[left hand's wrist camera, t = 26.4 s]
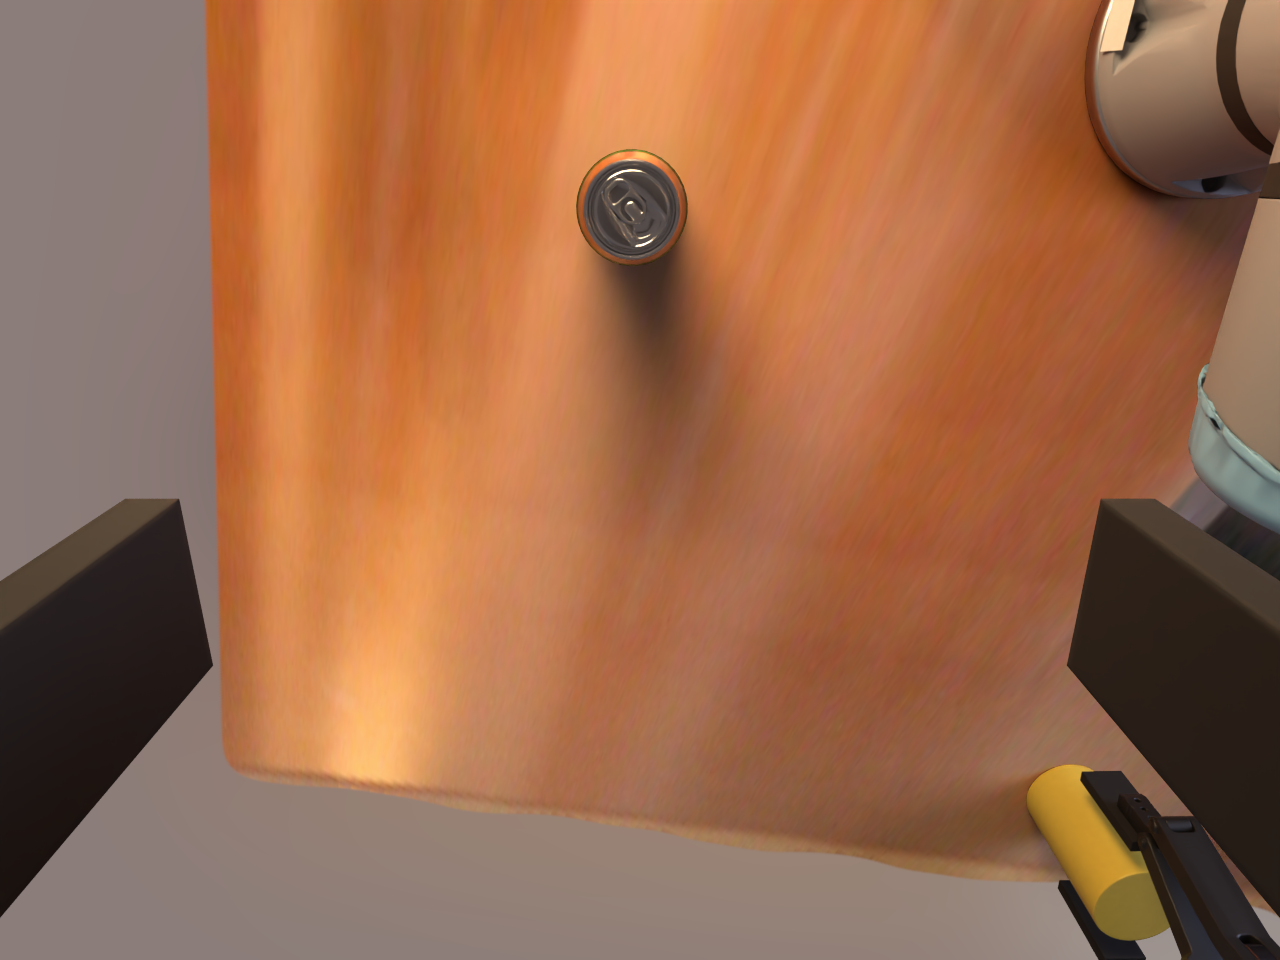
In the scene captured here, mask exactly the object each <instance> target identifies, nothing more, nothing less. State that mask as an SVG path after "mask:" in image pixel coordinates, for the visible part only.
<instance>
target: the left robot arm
mask: <svg viewBox="0 0 1280 960" xmlns="http://www.w3.org/2000/svg"><path fill="white" fill-rule="evenodd" d="M1085 93H1086V100H1087V107H1088V111H1089V115H1090V119H1091V122H1092V125H1093V128H1094V130H1095V133H1096V135H1097V137H1098V139H1099V141H1100V143H1101V145H1102V146H1103V148H1104V149H1105V151H1106V153H1107V154H1108V155H1109V157H1110V158H1111V159H1112V160H1113V162H1114V163H1115V164H1116V165H1117V166H1118V167H1119V168H1120V169H1121V170H1122V171H1123V172H1124V173H1125V174H1127V175H1128V176H1129V177H1131V178H1132V179H1133V180H1135V181H1137V182H1138V183H1140V184H1142V185H1143V186H1145V187H1148V188H1150V189H1152V190H1155V191H1157V192H1160V193H1164V194H1167V195H1172V196H1177V197H1187V198H1201V199H1219V198H1228V197H1235V196H1240V195H1245V194H1250V193H1254V192H1258V191H1261V193H1260V196H1259V197H1260V198H1258V202H1257V205H1256V209H1255V212H1254V215H1253V219H1252V222H1251V225H1250V229H1249V232H1248V235H1247V239H1246V242H1245V245H1244V249H1243V252H1242V255H1241V259H1240V262H1239V265H1238V269H1237V272H1236V275H1235V279H1234V282H1233V285H1232V289H1231V292H1230V296H1229V299H1228V302H1227V306H1226V309H1225V312H1224V316H1223V319H1222V322H1221V326H1220V329H1219V332H1218V336H1217V339H1216V342H1215V346H1214V349H1213V352H1212V356H1211V359H1210V362H1209V363H1208V364H1206V365H1205V366H1204V367H1203V369H1202V371H1201V373H1200V375H1199V378H1198V383H1197V387H1198V398H1199V399H1198V403H1197V407H1196V411H1195V415H1194V419H1193V423H1192V427H1191V432H1190V436H1189V452H1190V455H1191V461H1192V463H1193V465H1194V469H1195V471H1196V473H1197V475H1198V476H1199V477H1200V479H1201V480H1202V481H1203V482H1204V484H1205V485H1206V486H1207V487H1208V488H1209V489H1210V490H1211V491H1212V492H1213V493H1214V494H1215V495H1216V496H1218V497H1219V498H1220V499H1221V500H1222V501H1224V502H1225V503H1226V504H1228V505H1229V506H1230V507H1232V508H1233V509H1235V510H1236V511H1238V512H1240V513H1241V514H1243V515H1244V516H1246V517H1248V518H1249V519H1251V520H1253V521H1255V522H1257V523H1258V524H1260V525H1262V526H1264V527H1266V528H1268V529H1270V530H1272V531H1274V532H1276V533H1278V534H1280V200H1278V199H1280V0H1102V2H1101V5H1100V7H1099V10H1098V12H1097V15H1096V17H1095V20H1094V24H1093V27H1092V30H1091V34H1090V38H1089V43H1088V47H1087V54H1086V62H1085ZM212 666H213V663H212V659H211V653H210V648H209V643H208V638H207V634H206V629H205V624H204V619H203V614H202V609H201V604H200V599H199V595H198V590H197V585H196V580H195V575H194V570H193V565H192V560H191V555H190V550H189V545H188V540H187V536H186V530H185V525H184V521H183V516H182V511H181V506H180V501H179V499H124V500H123V501H121V502H120V503H118V504H117V505H115V506H114V507H112V508H111V509H109V510H108V511H106V512H105V513H103V514H102V515H100V516H99V517H97V518H96V519H94V520H92V521H91V522H89V523H88V524H86V525H85V526H83V527H82V528H80V529H79V530H77V531H76V532H74V533H73V534H71V535H70V536H68V537H67V538H65V539H64V540H62V541H61V542H59V543H58V544H56V545H55V546H53V547H52V548H50V549H48V550H47V551H45V552H44V553H42V554H41V555H39V556H38V557H36V558H35V559H33V560H32V561H30V562H29V563H27V564H26V565H24V566H23V567H21V568H20V569H18V570H17V571H15V572H14V573H12V574H11V575H9V576H8V577H6V578H5V579H3V580H1V581H0V917H1V916H2V915H3V914H4V912H5V911H6V910H7V909H8V908H9V907H10V905H11V904H12V903H13V902H14V901H15V899H16V898H17V897H18V896H19V895H20V894H21V892H22V891H23V890H24V889H25V888H26V886H27V885H28V884H29V883H30V882H31V880H32V879H33V878H34V877H35V876H36V875H37V873H38V872H39V871H40V870H41V869H42V867H43V866H44V865H45V864H46V863H47V861H48V860H49V859H50V858H51V857H52V856H53V854H54V853H55V852H56V851H57V850H58V849H59V847H60V846H61V845H62V844H63V843H64V841H65V840H66V839H67V838H68V837H69V835H70V834H71V833H72V832H73V831H74V829H75V828H76V827H77V826H78V825H79V824H80V822H81V821H82V820H83V819H84V818H85V817H86V815H87V814H88V813H89V812H90V811H91V809H92V808H93V807H94V806H95V805H96V803H97V802H98V801H99V800H100V799H101V798H102V796H103V795H104V794H105V793H106V792H107V790H108V789H109V788H110V787H111V786H112V785H113V783H114V782H115V781H116V780H117V779H118V777H119V776H120V775H121V774H122V773H123V771H124V770H125V769H126V768H127V767H128V766H129V764H130V763H131V762H132V761H133V760H134V758H135V757H136V756H137V755H138V754H139V753H140V751H141V750H142V749H143V748H144V747H145V745H146V744H147V743H148V742H149V741H150V740H151V738H152V737H153V736H154V735H155V734H156V732H157V731H158V730H159V729H160V728H161V726H162V725H163V724H164V723H165V722H166V721H167V719H168V718H169V717H170V716H171V715H172V713H173V712H174V711H175V710H176V709H177V708H178V706H179V705H180V704H181V703H182V701H183V700H184V699H185V698H186V697H187V696H188V694H189V693H190V692H191V691H192V690H193V688H194V687H195V686H196V685H197V684H198V683H199V681H200V680H201V679H202V678H203V677H204V676H205V674H206V673H207V672H208V671H209V670H210V668H211V667H212ZM1067 666H1068V667H1069V668H1070V670H1071V671H1072V672H1073V673H1074V674H1075V676H1076V677H1077V678H1078V679H1079V680H1080V681H1081V683H1082V684H1083V685H1084V686H1085V687H1086V689H1087V690H1088V691H1089V692H1090V693H1091V694H1092V696H1093V697H1094V698H1095V699H1096V700H1097V702H1098V703H1099V704H1100V705H1101V706H1102V708H1103V709H1104V710H1105V711H1106V712H1107V713H1108V715H1109V716H1110V717H1111V718H1112V719H1113V721H1114V722H1115V723H1116V724H1117V725H1118V726H1119V728H1120V729H1121V730H1122V731H1123V732H1124V734H1125V735H1126V736H1127V737H1128V738H1129V740H1130V741H1131V742H1132V743H1133V744H1134V745H1135V747H1136V748H1137V749H1138V750H1139V751H1140V753H1141V754H1142V755H1143V756H1144V757H1145V758H1146V760H1147V761H1148V762H1149V763H1150V764H1151V766H1152V767H1153V768H1154V769H1155V770H1156V771H1157V773H1158V774H1159V775H1160V776H1161V777H1162V779H1163V780H1164V781H1165V782H1166V783H1167V785H1168V786H1169V787H1170V788H1171V789H1172V790H1173V792H1174V793H1175V794H1176V795H1177V796H1178V798H1179V799H1180V800H1181V801H1182V802H1183V803H1184V805H1185V806H1186V807H1187V808H1188V809H1189V811H1190V812H1191V813H1192V814H1193V815H1194V817H1195V818H1196V819H1197V820H1198V821H1199V822H1200V824H1201V825H1202V826H1203V827H1204V828H1205V830H1206V831H1207V832H1208V833H1209V834H1210V835H1211V837H1212V838H1213V839H1214V840H1215V841H1216V843H1217V844H1218V845H1219V846H1220V847H1221V849H1222V850H1223V851H1224V852H1225V853H1226V854H1227V856H1228V857H1229V858H1230V859H1231V860H1232V862H1233V863H1234V864H1235V865H1236V866H1237V867H1238V869H1239V870H1240V871H1241V872H1242V873H1243V875H1244V876H1245V877H1246V878H1247V879H1248V880H1249V882H1250V883H1251V884H1252V885H1253V886H1254V888H1255V889H1256V890H1257V891H1258V892H1259V894H1260V895H1261V896H1262V897H1263V898H1264V899H1265V901H1266V902H1267V903H1268V904H1269V905H1270V907H1271V908H1272V909H1273V910H1274V911H1275V912H1276V914H1277V915H1278V916H1279V917H1280V581H1279V580H1277V579H1276V578H1274V577H1272V576H1271V575H1269V574H1268V573H1266V572H1265V571H1263V570H1262V569H1260V568H1259V567H1257V566H1256V565H1254V564H1253V563H1251V562H1250V561H1248V560H1247V559H1245V558H1244V557H1242V556H1241V555H1239V554H1238V553H1236V552H1235V551H1233V550H1232V549H1230V548H1228V547H1227V546H1225V545H1224V544H1222V543H1221V542H1219V541H1218V540H1216V539H1215V538H1213V537H1212V536H1210V535H1209V534H1207V533H1206V532H1204V531H1203V530H1201V529H1200V528H1198V527H1197V526H1195V525H1194V524H1192V523H1191V522H1189V521H1188V520H1186V519H1184V518H1183V517H1181V516H1180V515H1178V514H1177V513H1175V512H1174V511H1172V510H1171V509H1169V508H1168V507H1166V506H1165V505H1163V504H1162V503H1160V502H1159V501H1157V500H1156V499H1101V501H1100V506H1099V511H1098V516H1097V521H1096V525H1095V530H1094V535H1093V540H1092V545H1091V550H1090V555H1089V560H1088V565H1087V570H1086V575H1085V580H1084V584H1083V589H1082V594H1081V599H1080V604H1079V609H1078V614H1077V619H1076V624H1075V629H1074V634H1073V638H1072V643H1071V648H1070V653H1069V658H1068V663H1067Z"/></svg>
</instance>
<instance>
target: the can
mask: <svg viewBox="0 0 1280 960" xmlns="http://www.w3.org/2000/svg"><path fill="white" fill-rule="evenodd" d="M1082 771H1093V770H1091V769H1090V768H1087V767H1085V766H1081V765H1062V766H1058V767H1055V768H1052V769H1050V770H1048V771H1046V772H1044V773H1043V774H1041V775H1040V776H1039V777H1038V778H1037V779H1036V780H1035V781H1034V782H1033V783H1032V785H1031V786H1030V788H1029V790H1028V793H1027V798H1026V804H1027V809H1028V811H1029V813H1030V815H1031V816H1032V818H1033V820H1034V821H1035V823H1036V825H1037V826H1038V828H1039V830H1040V831H1041V833H1042V835H1043V836H1044V838H1045V840H1046V841H1047V843H1048V845H1049V846H1050V848H1051V850H1052V852H1053V853H1054V855H1055V857H1056V858H1057V860H1058V862H1059V863H1060V865H1061V867H1062V868H1063V870H1064V872H1065V873H1066V875H1067V877H1068V878H1069V880H1070V882H1071V883H1072V885H1073V887H1074V888H1075V890H1076V892H1077V893H1078V895H1079V897H1080V898H1081V900H1082V902H1083V903H1084V905H1085V907H1086V909H1087V910H1088V912H1089V914H1090V915H1091V917H1092V919H1093V920H1094V922H1095V924H1096V925H1097V927H1098V928H1099V929H1100V930H1101V931H1102V932H1103V933H1105V934H1106V935H1108V936H1110V937H1113V938H1115V939H1119V940H1127V941H1133V940H1142V939H1146V938H1150V937H1153V936H1155V935H1157V934H1160V933H1161V932H1163V931H1165V930H1166V929H1168V928H1169V927H1170V925H1169V923H1168V920H1167V918H1166V915H1165V913H1164V910H1163V907H1162V905H1161V902H1160V900H1159V897H1158V895H1157V892H1156V890H1155V887H1154V884H1153V882H1152V879H1151V877H1150V874H1149V872H1148V869H1147V866H1146V864H1145V861H1144V859H1143V856H1142V854H1141V851H1130V850H1129V849H1128V847H1127V846H1126V844H1125V843H1124V842H1123V840H1122V839H1121V837H1120V836H1119V835H1118V833H1117V832H1116V830H1115V829H1114V828H1113V826H1112V825H1111V823H1110V822H1109V821H1108V819H1107V818H1106V816H1105V815H1104V813H1103V812H1102V811H1101V809H1100V808H1099V806H1098V805H1097V804H1096V802H1095V801H1094V799H1093V798H1092V797H1091V795H1090V794H1089V792H1088V791H1087V790H1086V788H1085V787H1084V785H1083V784H1082V782H1081V781H1080V778H1081V773H1082Z"/></svg>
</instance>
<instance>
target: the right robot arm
mask: <svg viewBox="0 0 1280 960" xmlns="http://www.w3.org/2000/svg"><path fill="white" fill-rule="evenodd" d="M1080 781H1081V782H1082V784H1083V785H1084V787H1085V788H1086V790H1087V791H1088V792H1089V794H1090V795H1091V797H1092V798H1093V799H1094V801H1095V802H1096V804H1097V805H1098V806H1099V808H1100V809H1101V811H1102V812H1103V813H1104V815H1105V816H1106V818H1107V819H1108V821H1109V822H1110V823H1111V825H1112V826H1113V828H1114V829H1115V830H1116V832H1117V833H1118V835H1119V836H1120V837H1121V839H1122V840H1123V842H1124V843H1125V844H1126V846H1127V847H1128V849H1129V850H1130V851H1141V854H1142V856H1143V859H1144V861H1145V864H1146V866H1147V869H1148V872H1149V874H1150V877H1151V879H1152V882H1153V884H1154V887H1155V890H1156V892H1157V895H1158V897H1159V900H1160V902H1161V905H1162V907H1163V910H1164V913H1165V915H1166V918H1167V920H1168V923H1169V925H1170V928H1171V930H1172V933H1173V936H1174V938H1175V941H1176V943H1177V946H1178V948H1179V951H1180V953H1181V957H1182V958H1181V960H1280V947H1279V946H1278V945H1277V944H1276V943H1275V942H1274V941H1273V939H1272V938H1271V937H1270V936H1269V934H1268V933H1267V931H1266V929H1265V928H1264V926H1263V925H1262V923H1261V921H1260V920H1259V918H1258V916H1257V915H1256V913H1255V912H1254V910H1253V908H1252V907H1251V905H1250V903H1249V902H1248V900H1247V899H1246V897H1245V895H1244V894H1243V892H1242V891H1241V889H1240V887H1239V886H1238V884H1237V882H1236V881H1235V879H1234V878H1233V876H1232V874H1231V873H1230V871H1229V869H1228V868H1227V866H1226V865H1225V863H1224V861H1223V860H1222V858H1221V857H1220V855H1219V853H1218V852H1217V850H1216V848H1215V847H1214V845H1213V844H1212V842H1211V840H1210V839H1209V837H1208V835H1207V834H1206V832H1205V831H1204V829H1203V827H1202V826H1201V824H1200V822H1199V821H1198V820H1197V819H1196V818H1195V817H1194V816H1165V817H1161V815H1160V814H1159V813H1158V812H1157V810H1156V809H1155V808H1154V807H1153V805H1152V804H1150V802H1149V800H1148V799H1147V798H1146V797H1145V796H1144V795H1142V794H1139V793H1138V792H1137V791H1136V789H1135V788H1134V787H1133V786H1132V784H1131V783H1130V782H1129V780H1128V779H1127V778H1126V777H1125V775H1124V774H1123V773H1122V772H1121V771H1082V773H1081V778H1080ZM1058 889H1059V891H1060V893H1061V895H1062V896H1063V898H1064V900H1065V902H1066V903H1067V905H1068V907H1069V909H1070V910H1071V912H1072V914H1073V916H1074V917H1075V919H1076V921H1077V922H1078V924H1079V926H1080V928H1081V929H1082V931H1083V933H1084V935H1085V936H1086V938H1087V940H1088V942H1089V943H1090V946H1091V947H1092V949H1093V951H1094V952H1095V954H1096V956H1097V957H1098V960H1146V957H1145V956H1144V954H1143V952H1142V951H1141V949H1140V948H1139V946H1138V944H1137V943H1136V941H1135V940H1133V941H1127V940H1119V939H1115V938H1113V937H1110V936H1108V935H1106V934H1105V933H1103V932H1102V931H1101V930H1100V929H1099V928H1098V927H1097V925H1096V924H1095V922H1094V920H1093V919H1092V917H1091V915H1090V914H1089V912H1088V910H1087V909H1086V907H1085V905H1084V903H1083V902H1082V900H1081V898H1080V897H1079V895H1078V893H1077V892H1076V890H1075V888H1074V887H1073V885H1072V883H1071V882H1070V880H1059V885H1058Z"/></svg>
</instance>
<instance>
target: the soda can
mask: <svg viewBox="0 0 1280 960" xmlns="http://www.w3.org/2000/svg"><path fill="white" fill-rule="evenodd" d="M576 207H577V218H578V223H579V226H580V229H581V232H582V234H583V236H584V237H585V239H586V241H587V242H588V243H589V245H590V246H591V247H592V248H593V249H594V250H595V251H596V252H597V253H598V254H599V255H601V256H602V257H604V258H605V259H607V260H609V261H611V262H614V263H617V264H620V265H627V266H638V265H644V264H647V263H650V262H653V261H655V260H657V259H659V258H661V257H662V256H664V255H665V254H666V253H668V252H669V251H670V250H671V249H672V247H673V246H674V245H675V244H676V242H677V241H678V240H679V238H680V236H681V234H682V232H683V230H684V227H685V223H686V219H687V197H686V192H685V189H684V186H683V184H682V182H681V179H680V177H679V176H678V175H677V173H676V172H675V170H674V169H673V168H672V167H671V166H670V165H669V164H668V163H667V162H666V161H664V160H663V159H662V158H660V157H658V156H656V155H654V154H652V153H649V152H646V151H642V150H636V149H632V150H622V151H617V152H614V153H612V154H609V155H607V156H605V157H604V158H602V159H601V160H599V161H598V162H597V163H596V164H594V166H593V167H592V168H591V169H590V170H589V171H588V173H587V174H586V176H585V177H584V179H583V181H582V183H581V186H580V189H579V192H578V196H577V205H576Z"/></svg>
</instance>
